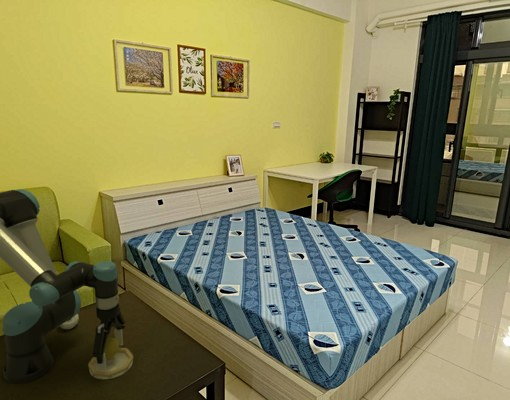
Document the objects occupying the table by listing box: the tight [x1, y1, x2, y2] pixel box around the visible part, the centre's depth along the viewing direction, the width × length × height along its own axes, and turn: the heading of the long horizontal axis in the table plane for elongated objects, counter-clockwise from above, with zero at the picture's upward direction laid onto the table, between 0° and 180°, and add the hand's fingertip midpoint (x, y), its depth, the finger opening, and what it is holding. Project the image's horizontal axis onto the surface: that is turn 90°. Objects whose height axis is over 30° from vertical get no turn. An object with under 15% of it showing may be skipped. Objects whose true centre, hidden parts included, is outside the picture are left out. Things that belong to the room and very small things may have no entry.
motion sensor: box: [59, 313, 80, 330], centre depth 151 cm, size 8×8×8 cm
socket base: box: [87, 346, 134, 380], centre depth 131 cm, size 15×15×2 cm
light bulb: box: [104, 336, 120, 365], centre depth 130 cm, size 7×7×10 cm
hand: (110, 356), depth 130 cm, fingers open, 13 cm apart
